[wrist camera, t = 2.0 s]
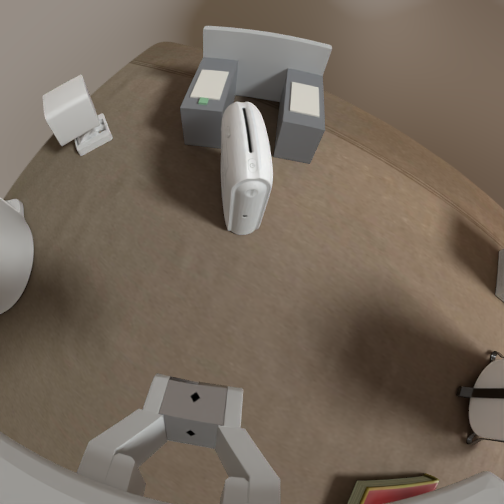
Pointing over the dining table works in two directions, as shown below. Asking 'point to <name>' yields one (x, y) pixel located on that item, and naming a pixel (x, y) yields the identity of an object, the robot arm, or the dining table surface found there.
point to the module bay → (259, 87)
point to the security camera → (75, 116)
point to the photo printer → (244, 167)
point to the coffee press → (487, 402)
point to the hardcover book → (391, 489)
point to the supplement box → (500, 276)
